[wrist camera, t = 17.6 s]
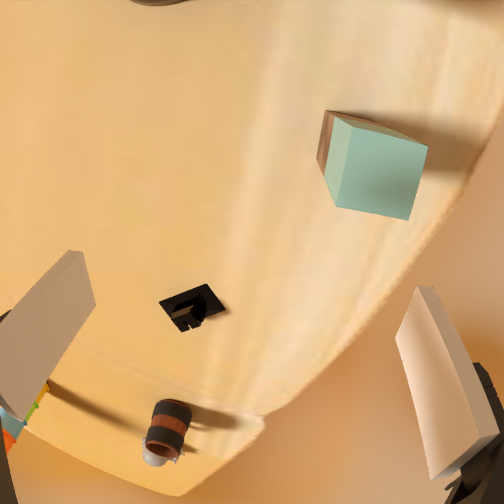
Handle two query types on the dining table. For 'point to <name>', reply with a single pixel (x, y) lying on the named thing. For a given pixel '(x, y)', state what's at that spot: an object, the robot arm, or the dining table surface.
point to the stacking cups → (17, 421)
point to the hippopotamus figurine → (156, 456)
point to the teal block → (373, 168)
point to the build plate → (192, 307)
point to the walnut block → (327, 134)
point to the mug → (168, 428)
